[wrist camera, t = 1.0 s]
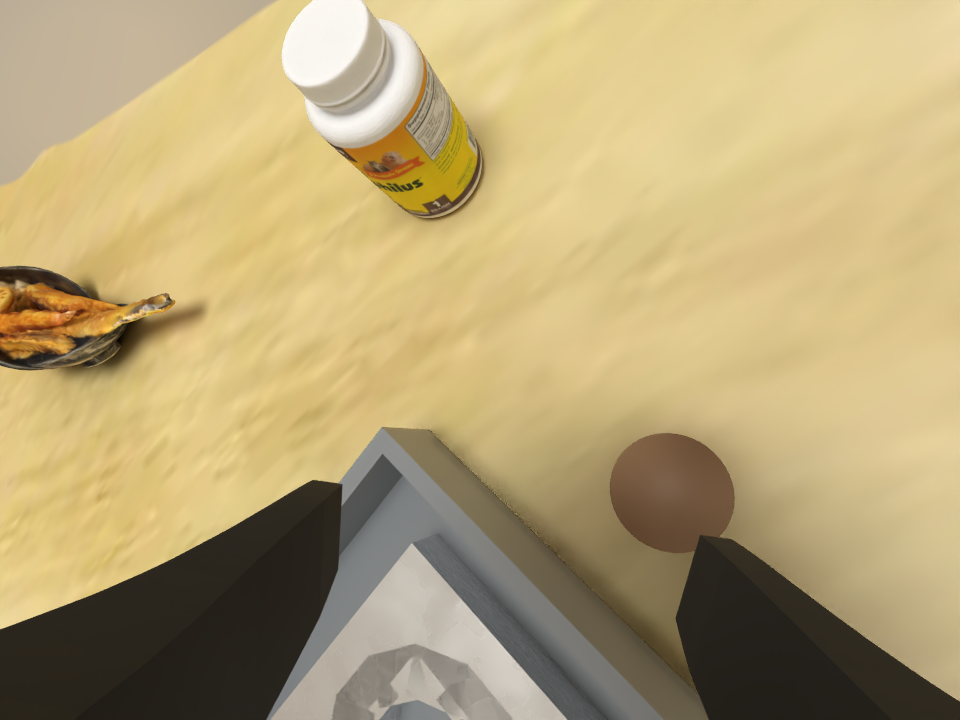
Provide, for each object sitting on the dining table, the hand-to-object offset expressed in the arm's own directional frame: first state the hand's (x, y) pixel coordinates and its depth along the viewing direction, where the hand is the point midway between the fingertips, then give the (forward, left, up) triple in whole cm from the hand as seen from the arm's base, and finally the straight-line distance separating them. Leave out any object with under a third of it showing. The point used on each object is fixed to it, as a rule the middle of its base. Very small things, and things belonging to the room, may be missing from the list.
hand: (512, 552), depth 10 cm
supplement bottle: (+17, -8, -13) cm, 23 cm away
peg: (-2, -3, -13) cm, 13 cm away
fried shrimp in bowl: (+32, +14, -13) cm, 38 cm away
